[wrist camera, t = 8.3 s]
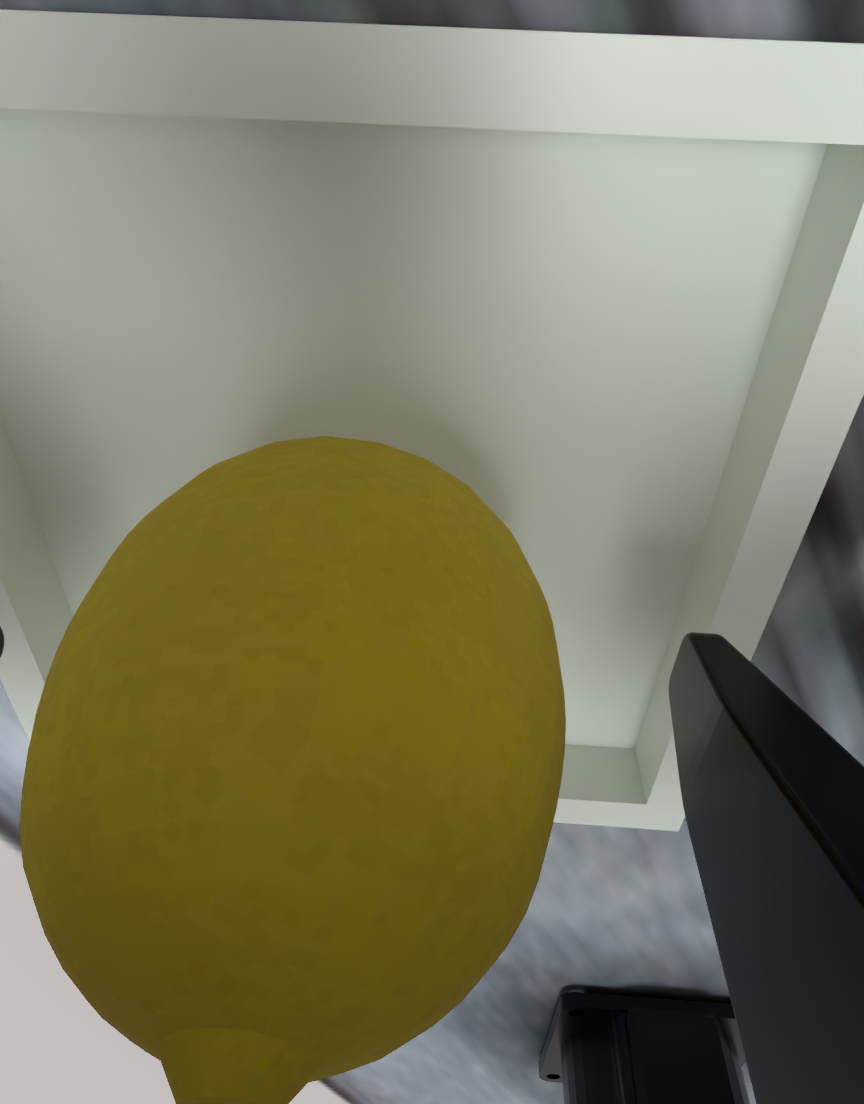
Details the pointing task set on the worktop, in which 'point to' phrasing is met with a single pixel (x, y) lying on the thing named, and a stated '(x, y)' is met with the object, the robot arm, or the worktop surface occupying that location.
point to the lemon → (295, 766)
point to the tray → (440, 313)
